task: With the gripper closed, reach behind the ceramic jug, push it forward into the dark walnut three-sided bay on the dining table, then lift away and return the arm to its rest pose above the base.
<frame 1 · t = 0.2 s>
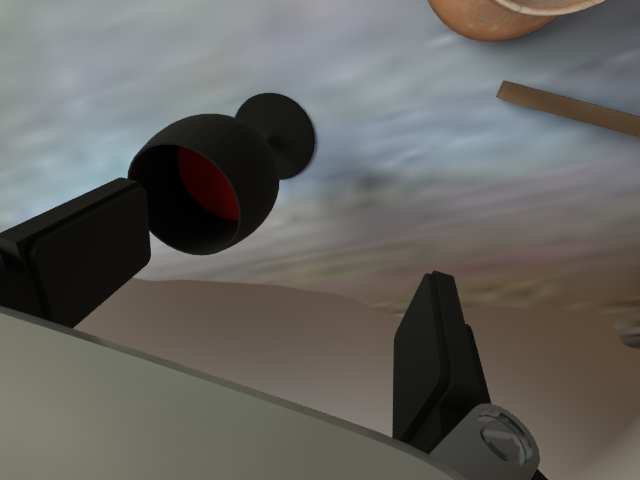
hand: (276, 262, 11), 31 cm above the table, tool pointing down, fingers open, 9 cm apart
wine glass: (274, 138, 41), on the table
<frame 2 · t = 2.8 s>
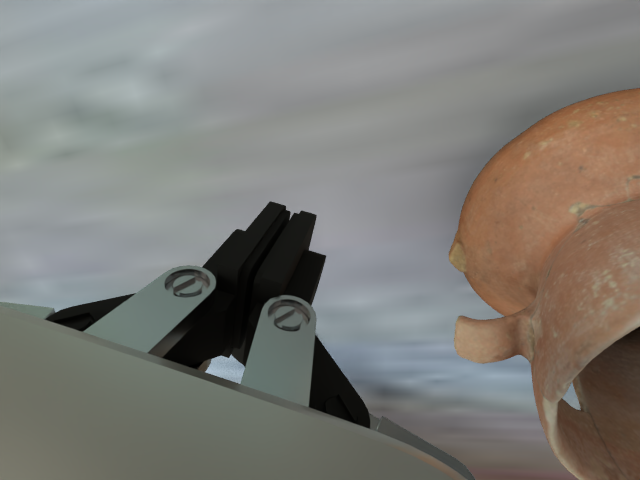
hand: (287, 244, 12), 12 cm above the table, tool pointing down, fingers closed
ceramic jug: (585, 204, 21), on the table
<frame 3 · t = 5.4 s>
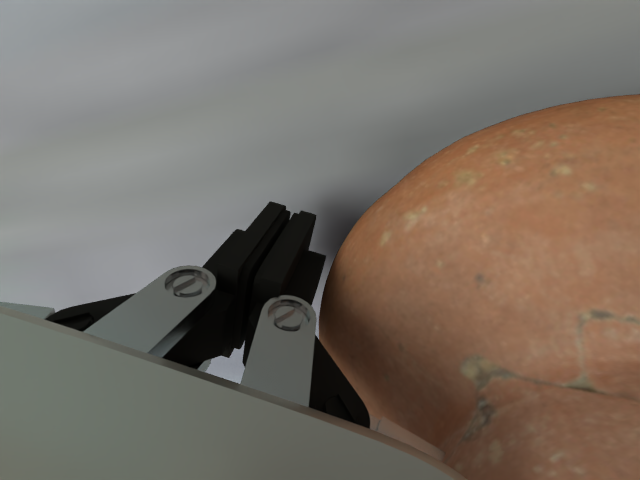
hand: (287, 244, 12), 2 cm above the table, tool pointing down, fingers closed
ceramic jug: (539, 284, 13), on the table
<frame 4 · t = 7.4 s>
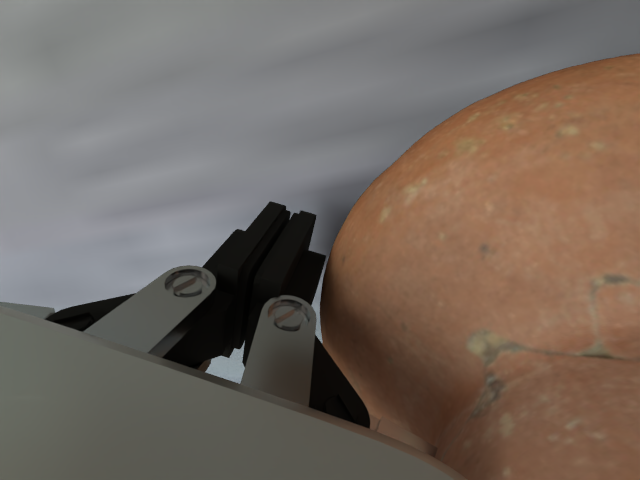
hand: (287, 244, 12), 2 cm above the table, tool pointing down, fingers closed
ceramic jug: (547, 267, 12), on the table, touching gripper
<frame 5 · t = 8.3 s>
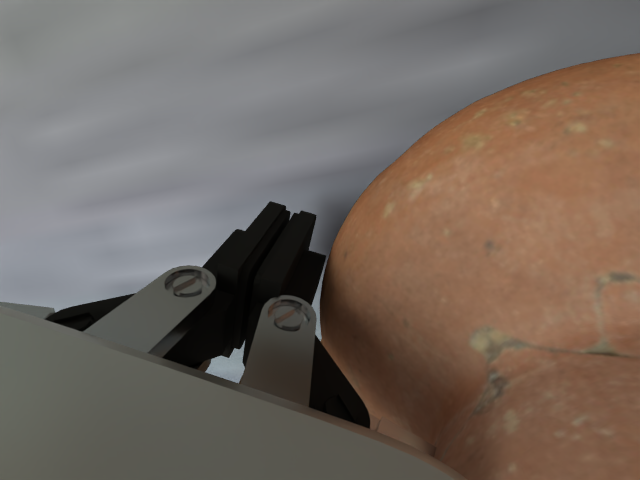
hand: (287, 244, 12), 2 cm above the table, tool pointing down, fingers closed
ceramic jug: (546, 267, 12), on the table, touching gripper
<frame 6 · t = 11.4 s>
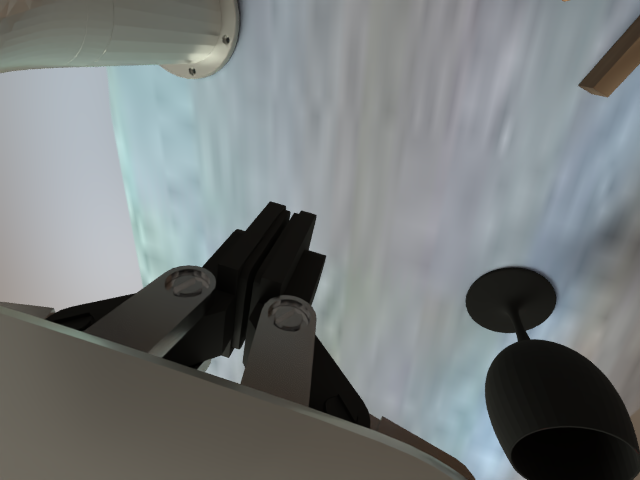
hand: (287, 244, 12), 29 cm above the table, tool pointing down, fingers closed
wine glass: (508, 299, 43), on the table
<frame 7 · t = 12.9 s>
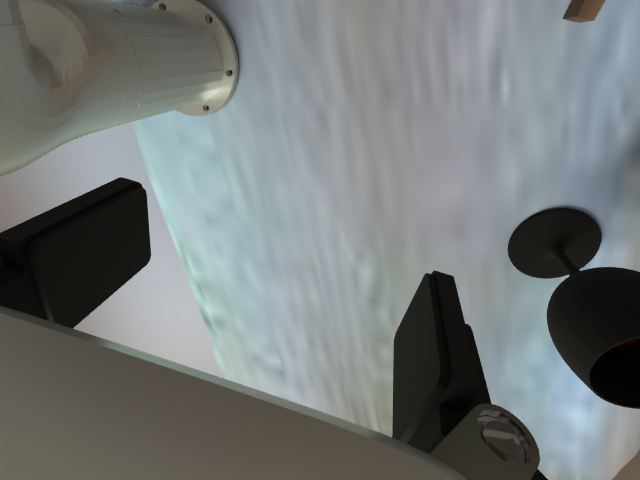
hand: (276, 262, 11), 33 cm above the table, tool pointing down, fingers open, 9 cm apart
wine glass: (551, 243, 43), on the table
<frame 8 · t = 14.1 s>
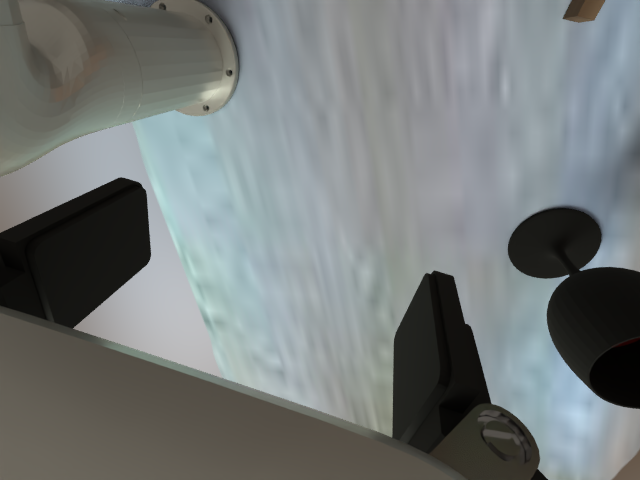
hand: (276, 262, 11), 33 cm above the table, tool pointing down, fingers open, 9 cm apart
wine glass: (551, 243, 43), on the table
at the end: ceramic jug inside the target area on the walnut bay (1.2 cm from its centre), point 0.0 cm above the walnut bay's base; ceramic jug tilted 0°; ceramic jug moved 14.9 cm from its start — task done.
